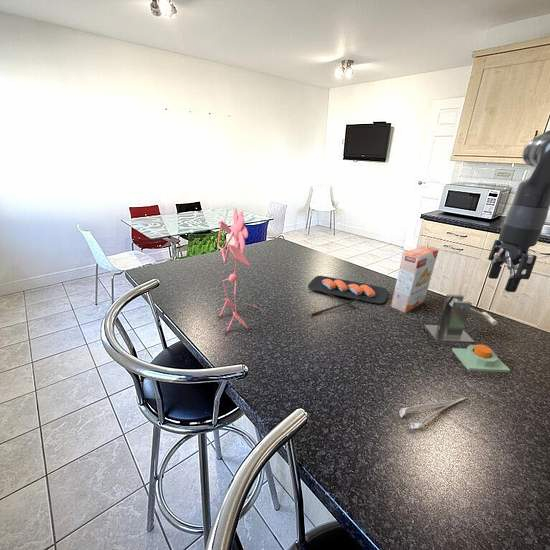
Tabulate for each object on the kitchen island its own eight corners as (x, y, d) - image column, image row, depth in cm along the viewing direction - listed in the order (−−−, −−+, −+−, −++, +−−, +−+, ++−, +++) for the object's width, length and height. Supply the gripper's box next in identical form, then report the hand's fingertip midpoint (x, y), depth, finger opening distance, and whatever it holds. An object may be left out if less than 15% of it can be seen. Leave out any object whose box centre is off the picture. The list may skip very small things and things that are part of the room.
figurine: (231, 348, 80) (226, 221, 66) (212, 305, 102) (204, 203, 88) (282, 336, 86) (287, 217, 72) (253, 297, 107) (253, 200, 93)
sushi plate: (388, 292, 114) (389, 283, 112) (378, 332, 89) (380, 321, 87) (316, 278, 125) (317, 270, 123) (290, 310, 100) (290, 300, 98)
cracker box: (406, 316, 98) (419, 257, 90) (389, 308, 102) (401, 252, 94) (425, 303, 106) (439, 249, 98) (409, 297, 110) (422, 244, 102)
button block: (487, 354, 80) (492, 344, 79) (508, 375, 73) (512, 364, 71) (450, 353, 80) (454, 342, 79) (467, 373, 73) (471, 362, 71)
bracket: (458, 329, 91) (470, 293, 86) (473, 345, 84) (487, 306, 79) (423, 328, 91) (432, 291, 86) (434, 343, 84) (446, 304, 79)
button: (484, 349, 77) (486, 344, 76) (493, 359, 73) (495, 353, 73) (470, 349, 77) (472, 343, 76) (478, 358, 74) (480, 352, 73)
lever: (483, 317, 87) (488, 311, 86) (493, 327, 83) (499, 320, 82) (446, 301, 86) (451, 295, 85) (455, 310, 81) (460, 303, 80)
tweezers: (414, 432, 57) (417, 424, 56) (397, 413, 61) (399, 406, 60) (473, 410, 64) (476, 403, 63) (454, 395, 68) (456, 388, 67)
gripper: (561, 232, 64) (533, 298, 70) (522, 219, 77) (501, 275, 83) (523, 230, 65) (499, 294, 71) (491, 217, 78) (473, 273, 84)
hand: (500, 284), depth 77 cm, fingers open, 8 cm apart
